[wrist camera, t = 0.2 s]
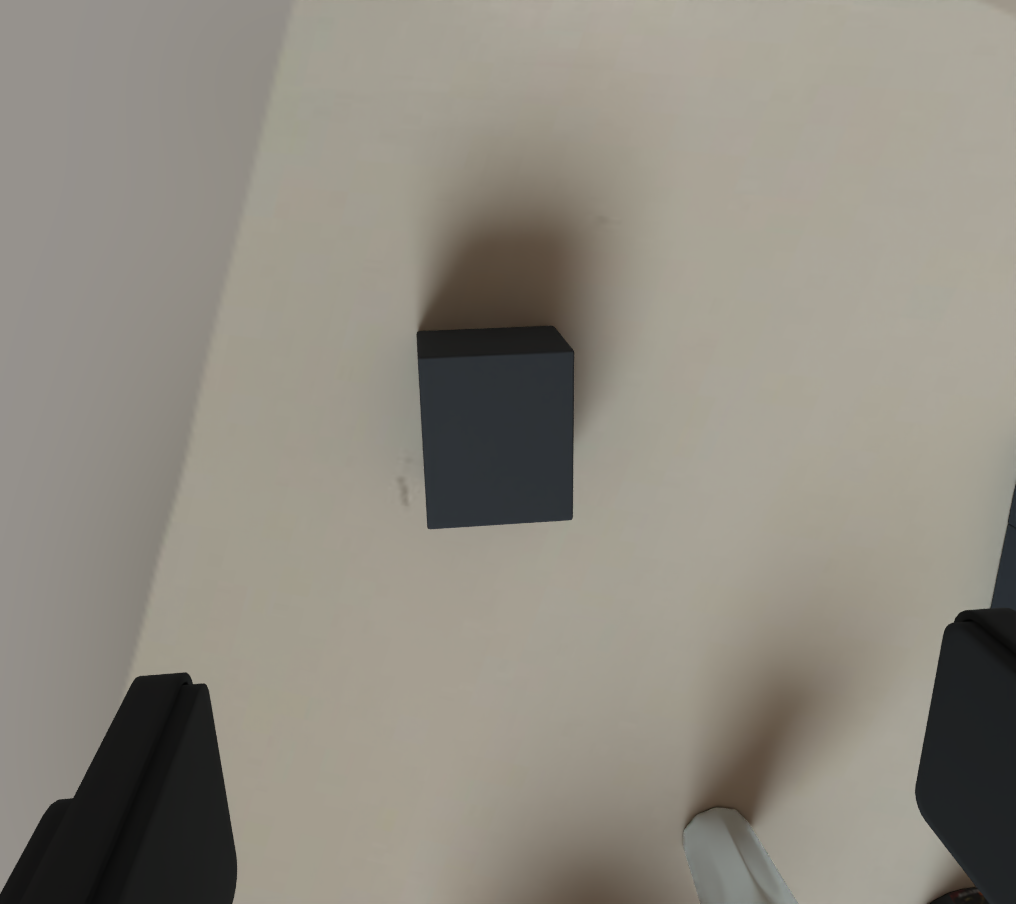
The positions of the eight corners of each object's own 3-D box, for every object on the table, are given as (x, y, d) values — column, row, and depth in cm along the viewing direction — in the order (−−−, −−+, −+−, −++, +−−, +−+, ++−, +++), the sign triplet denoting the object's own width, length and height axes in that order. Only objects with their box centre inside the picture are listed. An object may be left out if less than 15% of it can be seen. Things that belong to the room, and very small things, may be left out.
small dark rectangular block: (416, 330, 30) (417, 357, 26) (554, 325, 31) (574, 350, 27) (425, 485, 32) (427, 530, 28) (554, 477, 33) (573, 521, 29)
